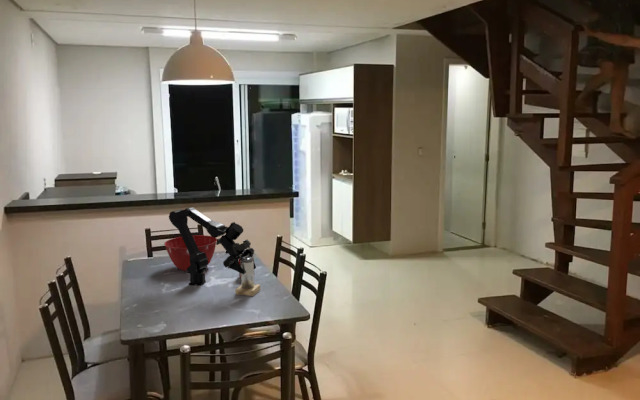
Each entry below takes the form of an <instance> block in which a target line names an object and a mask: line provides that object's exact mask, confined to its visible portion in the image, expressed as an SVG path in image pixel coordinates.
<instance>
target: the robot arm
mask: <svg viewBox="0 0 640 400" xmlns="http://www.w3.org/2000/svg"><path fill="white" fill-rule="evenodd" d="M189 218H190V219H191V220H193V221H194V222H195V223H197V224H199V225H200V227H201V226H202V227H203V228H204V229H205V230H206V232H207V233H208V234H209V236H212V237H214V238H217V241H216V246H218V245H221V246H222V247H223V249H224V250H225V252H224V253H225V254H226V255H227V254H228V256H227V257H226V258H225V260H224V261H223V262H222V263H223V265H222V266H224V268H226V269H227V268H228V269H231V270H233V271H236V272H238V273H239V272H240V273H242V274H245V272H244V270H243V269H242V267H241V266H240V264H239V259H240V258H242V257H253V256H254V254H255V249H254V247H251V242H250V241H249V240H248V239H245V240H243V241H242V242H241V243H239V242H235V240H237V239H238V238H239V237H240V236H241V235H242V234H243V233H244V228H243V226H242V225H240V224H239V223H236V222H235V221H233V222H231V223H230V225H229V226H226V225H224V224H223V223H221V222H219V221H214V220H212V219H210V217H209V218H208V217H207V216H206V215H204V214H203V213H201V212H200V211H199V210H198V209H196V208H195V207H193V206H191V207H187V208H185V209H177V210H173V211H170V212H169V215H168V220H169V221H170V223H171V224H172V226H173V227H175V228H176V229H178V232H179V234H180V237H182V239H183V241H184V243H185V245H186V247H187V249H188V252H189V254H190V264H191V265H190V266H189V267H188V268H187V271H186V272H187V274H189V283H188V285H190V286H202V285H203V284H204V283H206V282H207V281H206V274H205V271H206V270H207V267H208V266H209V264H208V260H207V259H208V258H207V256H206V253H205V252H203V253H202V252H200V251H199V249H198V247H197V245H196V243H195V240H194V238H193V234H192V232H191V230H190V228H189V226H188V220H189ZM253 264H254V270H255V269H257V266H256V263H255V260H254V261H253Z"/></svg>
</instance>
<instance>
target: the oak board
mask: <svg viewBox="0 0 640 400" xmlns="http://www.w3.org/2000/svg"><path fill="white" fill-rule="evenodd" d="M260 291H261V284H259V283H258V284H255V283H254V288H251V289H243V288H242V287H241V284H240V285H239V286H238V287H237V288H235V295H240V296H252V297H254V296H255V295H256V294H257V293H258V292H260Z"/></svg>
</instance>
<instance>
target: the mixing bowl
mask: <svg viewBox="0 0 640 400" xmlns="http://www.w3.org/2000/svg"><path fill="white" fill-rule="evenodd" d="M192 236H193V238H194V240H195V243H196V245H197V247H198V249H199V251H200V252H202V253H203V252H205V253H206V256H207V258H208V259H207V260H208V265H209V264H210V262H211V261H212V259H213V256H214V253H215V250H216V247H217V245H216V242H217V239H218V237H216V238H214V237H212V236H211V235H205V234H201V235H200V234H199V235H198V234H197V235H196V234H195V235H193V234H192ZM164 246H165V248H166V252H167V254H168V256H169V258H170V260H171V261H172V263H173V265H174V266H175V267H176V268H178V269H179V270H181V271H182V272H187V268H188V267H189V266H190V265H191V264H190V254H189V252H188V249H187V247H186V245H185V243H184V241H183V239H182V237H181V236H178V237H174V238H171V239H168V240H166V241H164Z"/></svg>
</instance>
